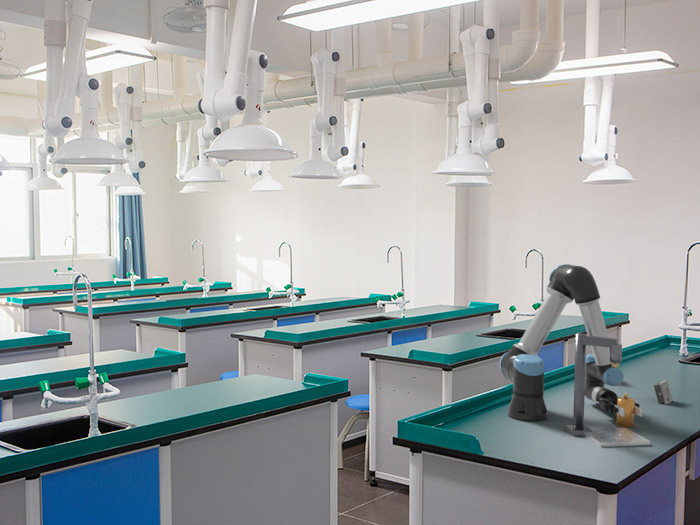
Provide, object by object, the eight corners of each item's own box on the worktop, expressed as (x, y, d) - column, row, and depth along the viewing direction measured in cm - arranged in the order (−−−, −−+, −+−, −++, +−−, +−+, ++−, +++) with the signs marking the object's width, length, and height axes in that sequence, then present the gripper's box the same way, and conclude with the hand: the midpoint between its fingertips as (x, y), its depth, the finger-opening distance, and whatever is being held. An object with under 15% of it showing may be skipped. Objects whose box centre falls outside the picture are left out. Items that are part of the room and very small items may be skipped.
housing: (622, 427, 257) (623, 395, 257) (613, 423, 263) (614, 391, 263) (636, 427, 258) (638, 395, 258) (628, 422, 264) (629, 391, 264)
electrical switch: (667, 405, 292) (665, 383, 292) (654, 404, 295) (652, 382, 295) (673, 401, 299) (671, 379, 299) (660, 400, 302) (659, 379, 302)
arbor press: (591, 447, 233) (594, 341, 231) (564, 430, 252) (567, 332, 251) (649, 445, 236) (653, 340, 235) (619, 428, 256) (622, 332, 254)
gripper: (627, 406, 279) (656, 422, 256) (581, 406, 278) (606, 423, 255) (628, 388, 279) (657, 402, 256) (582, 388, 278) (607, 403, 255)
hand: (632, 412), depth 255 cm, fingers closed on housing, 6 cm apart
